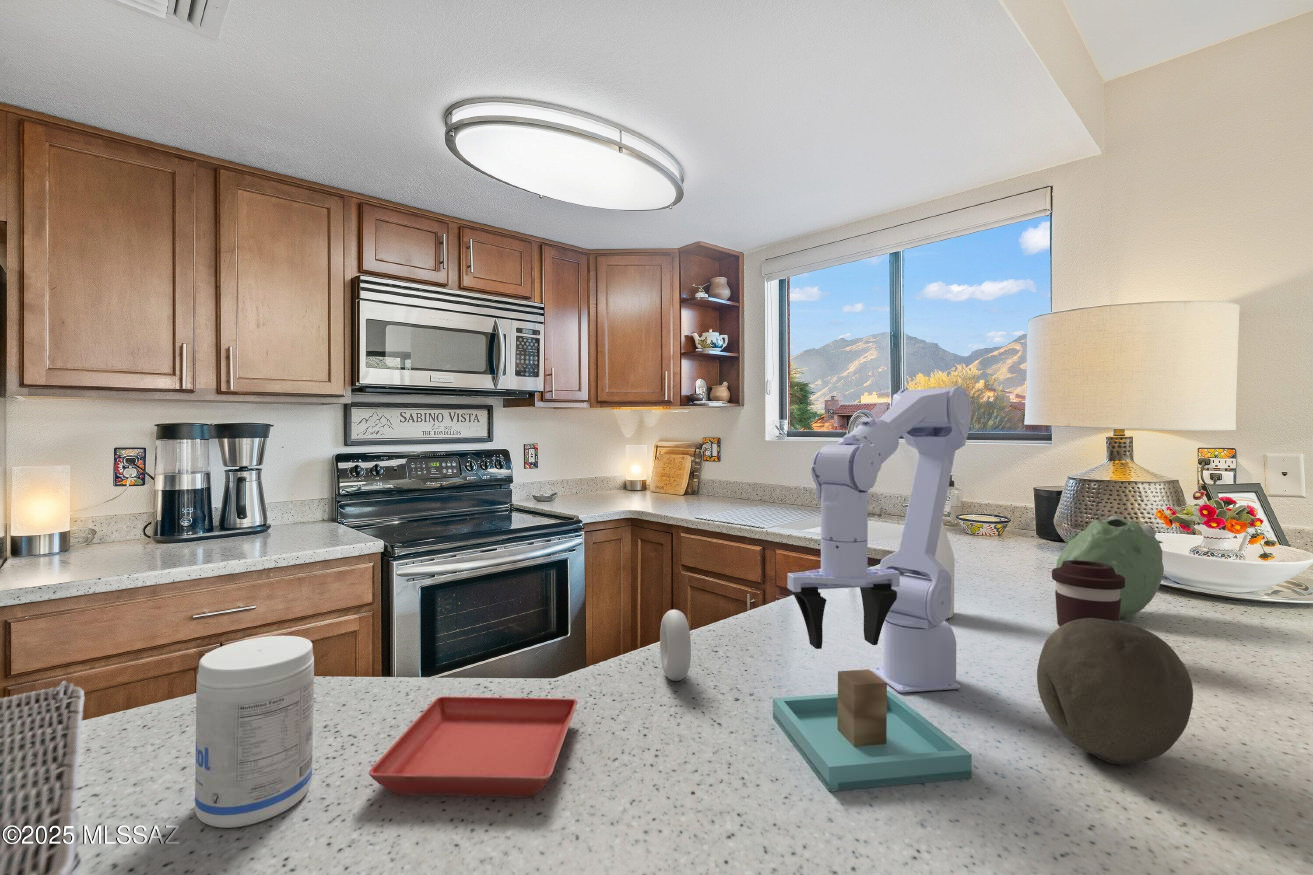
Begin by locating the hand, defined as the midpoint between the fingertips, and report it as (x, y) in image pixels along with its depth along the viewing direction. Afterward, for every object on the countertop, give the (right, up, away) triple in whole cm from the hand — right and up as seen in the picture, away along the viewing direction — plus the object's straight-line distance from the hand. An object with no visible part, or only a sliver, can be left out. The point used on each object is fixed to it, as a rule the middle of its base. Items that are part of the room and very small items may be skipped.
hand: (843, 644), depth 77 cm
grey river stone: (+28, -10, -9) cm, 31 cm away
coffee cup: (+48, -10, +23) cm, 54 cm away
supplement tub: (-63, -9, -18) cm, 66 cm away
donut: (-21, -9, +12) cm, 26 cm away
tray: (0, -9, -7) cm, 12 cm away
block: (0, -9, -7) cm, 11 cm away
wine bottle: (+31, -10, +45) cm, 55 cm away
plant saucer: (-43, -10, -10) cm, 45 cm away
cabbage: (+68, -10, +45) cm, 82 cm away
